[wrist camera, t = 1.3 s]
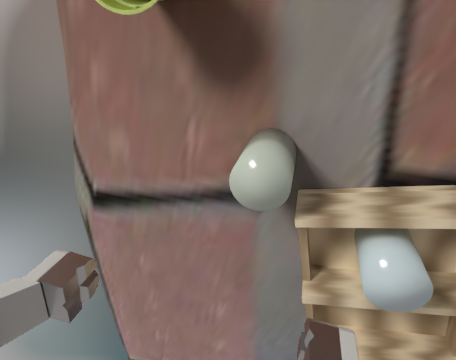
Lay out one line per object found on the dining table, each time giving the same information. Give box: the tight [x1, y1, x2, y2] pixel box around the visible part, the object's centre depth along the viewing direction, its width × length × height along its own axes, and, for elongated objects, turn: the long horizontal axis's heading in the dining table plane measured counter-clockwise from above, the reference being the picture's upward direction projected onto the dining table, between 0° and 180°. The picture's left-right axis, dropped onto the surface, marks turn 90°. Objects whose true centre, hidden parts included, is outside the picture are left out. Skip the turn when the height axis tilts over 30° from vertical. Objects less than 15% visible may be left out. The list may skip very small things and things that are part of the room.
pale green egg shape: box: [229, 128, 297, 211], centre depth 35 cm, size 6×6×9 cm
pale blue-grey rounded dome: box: [354, 228, 433, 312], centre depth 34 cm, size 6×6×9 cm
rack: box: [295, 185, 456, 360], centre depth 39 cm, size 20×25×7 cm
